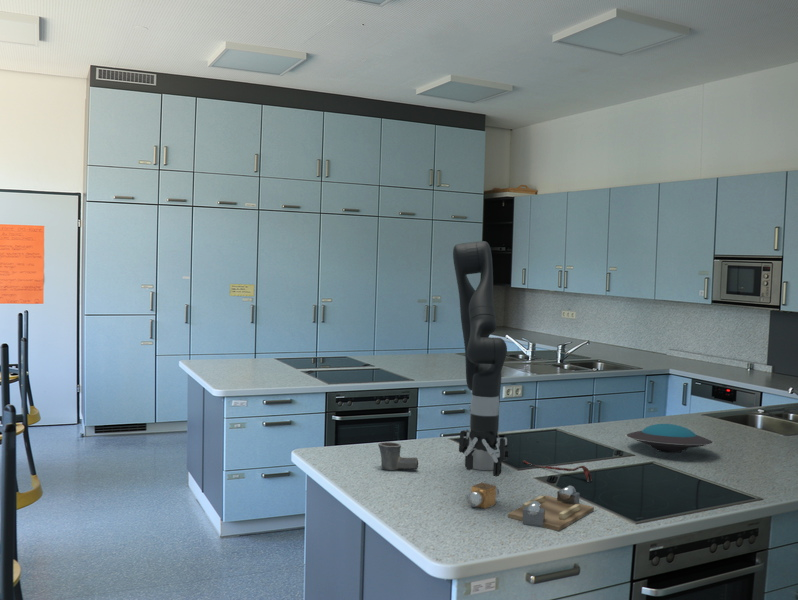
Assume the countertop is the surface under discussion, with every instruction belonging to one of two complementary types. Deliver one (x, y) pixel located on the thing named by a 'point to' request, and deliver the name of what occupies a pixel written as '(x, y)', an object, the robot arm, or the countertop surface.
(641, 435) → the decorative object
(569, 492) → the shaft
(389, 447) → the pipe
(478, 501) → the coupling
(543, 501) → the wooden tray with rails
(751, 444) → the countertop surface
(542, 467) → the crowbar
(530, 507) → the shaft
